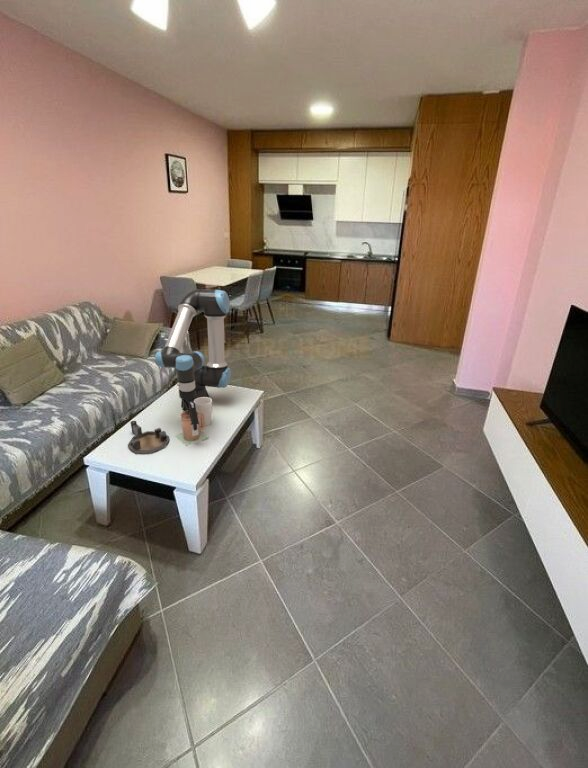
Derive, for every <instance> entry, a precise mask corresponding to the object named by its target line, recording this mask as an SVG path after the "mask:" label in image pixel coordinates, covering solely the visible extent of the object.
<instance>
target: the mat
mask: <svg viewBox="0 0 588 768" xmlns="http://www.w3.org/2000/svg"><path fill="white" fill-rule="evenodd" d="M174 437H175V438H176V439H177V440H179V441H180V442H181V443H182V444H183V445H185V446H186V447H188V446H191V445H194V444H195V443H199V442H201V441H203V442H204V441H206V440H209V439H210V437H209V436H208V435H207V434H205V433H204V432H203V431H202V430H200V437H199V438H198V439H197V440H193V441H187V440H184V438H183V432H181V433H178V434H176V435H174Z"/></svg>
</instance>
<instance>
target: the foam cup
mask: <svg viewBox="0 0 588 768" xmlns="http://www.w3.org/2000/svg"><path fill="white" fill-rule="evenodd" d="M194 403H195V407H196V411H197V412H198V413H199V414H204V422H205V427H207V426H209V425H210V424H211V423H212V422H211V420H212V409H213V399H212V398H211V397H209V398H208V397H200V398H197V399H195V400H194ZM199 426H201V420H200V418H199Z"/></svg>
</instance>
